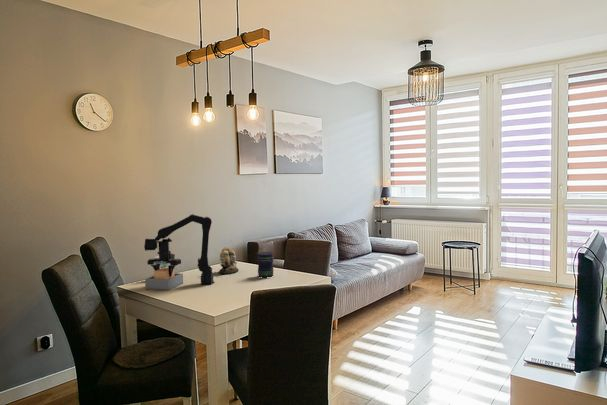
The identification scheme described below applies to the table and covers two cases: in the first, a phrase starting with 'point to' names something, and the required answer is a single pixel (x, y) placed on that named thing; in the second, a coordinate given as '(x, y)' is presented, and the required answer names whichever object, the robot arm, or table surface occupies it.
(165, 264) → the syrup box
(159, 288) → the grey crate
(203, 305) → the table surface
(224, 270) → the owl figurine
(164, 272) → the orange crate
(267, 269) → the storage jar
